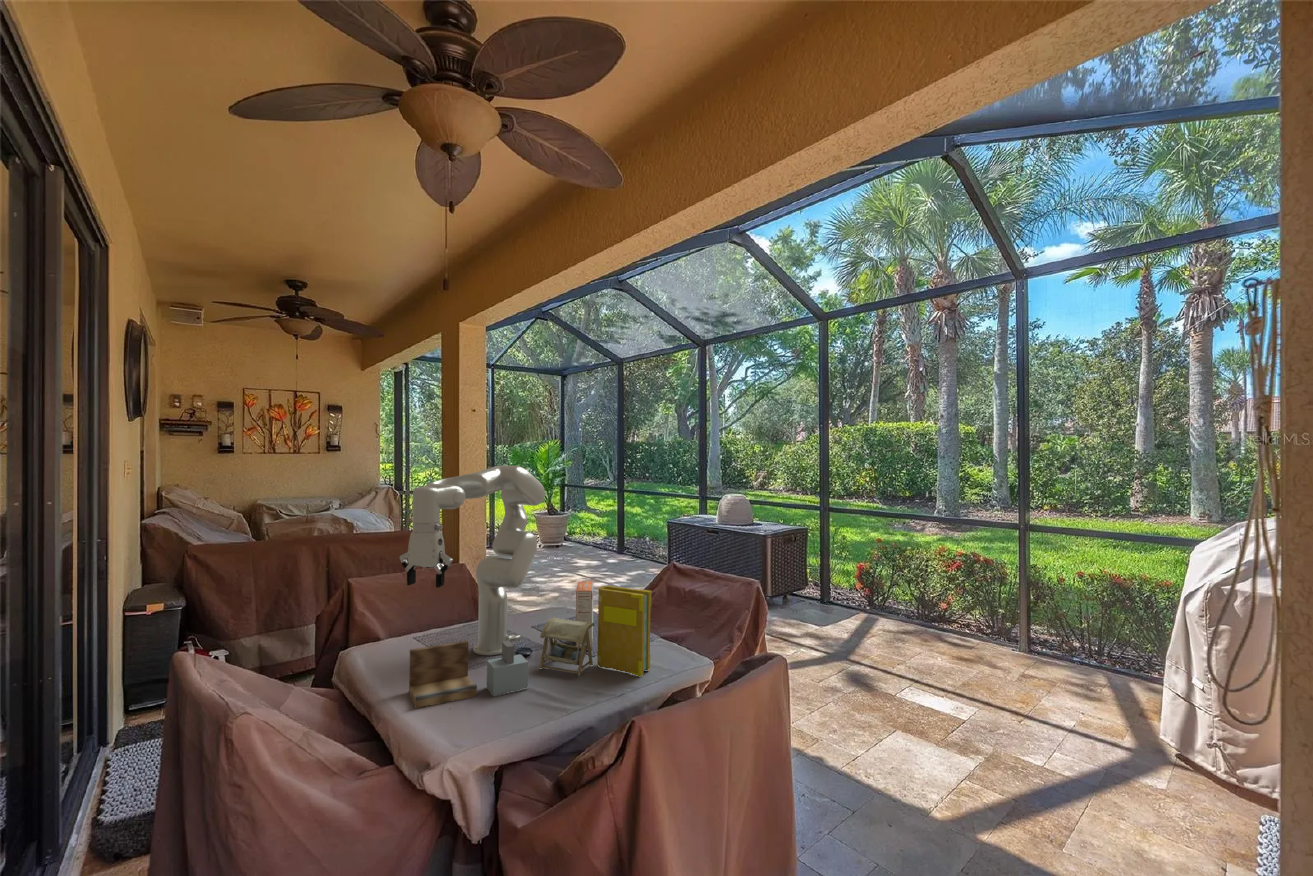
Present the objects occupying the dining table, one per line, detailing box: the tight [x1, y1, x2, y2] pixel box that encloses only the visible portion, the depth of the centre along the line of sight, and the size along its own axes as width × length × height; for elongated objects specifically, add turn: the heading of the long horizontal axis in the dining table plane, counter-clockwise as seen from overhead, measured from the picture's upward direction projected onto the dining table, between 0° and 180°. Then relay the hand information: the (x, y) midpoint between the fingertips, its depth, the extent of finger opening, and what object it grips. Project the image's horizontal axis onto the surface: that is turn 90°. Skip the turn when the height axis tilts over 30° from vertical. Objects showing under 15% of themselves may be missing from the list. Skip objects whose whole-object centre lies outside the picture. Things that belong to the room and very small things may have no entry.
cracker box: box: [575, 580, 594, 650], centre depth 209 cm, size 14×6×21 cm, turn 5°
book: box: [596, 585, 652, 677], centre depth 186 cm, size 17×7×25 cm, turn 65°
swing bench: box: [539, 617, 595, 675], centre depth 186 cm, size 15×10×15 cm, turn 70°
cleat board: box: [408, 640, 478, 709], centre depth 165 cm, size 16×12×12 cm
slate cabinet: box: [486, 641, 529, 697], centre depth 170 cm, size 10×7×13 cm
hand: (425, 585), depth 174 cm, fingers open, 9 cm apart
